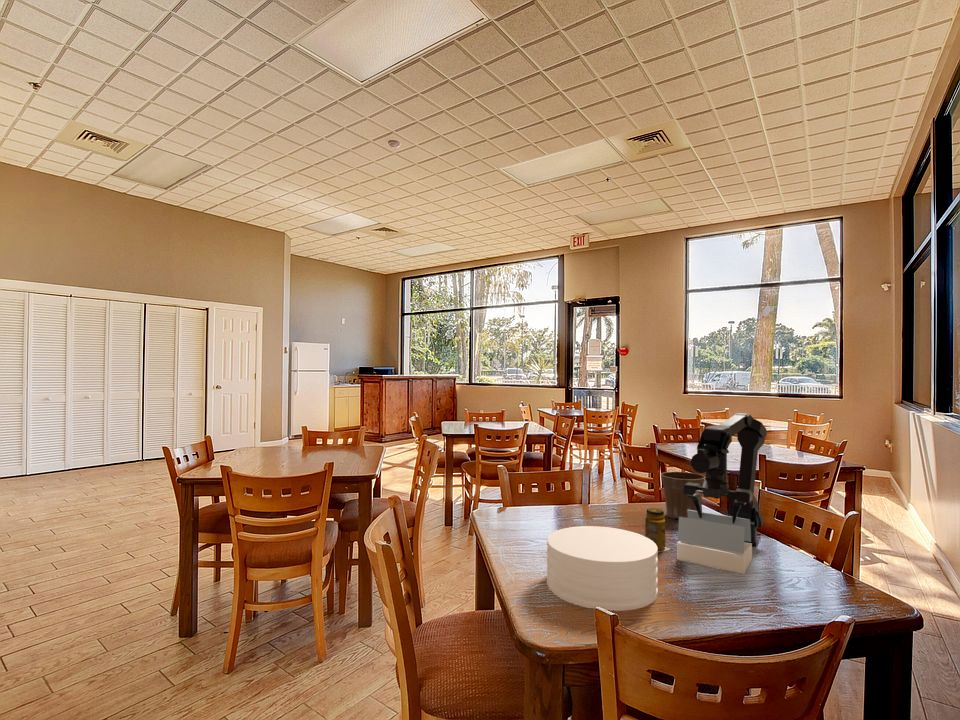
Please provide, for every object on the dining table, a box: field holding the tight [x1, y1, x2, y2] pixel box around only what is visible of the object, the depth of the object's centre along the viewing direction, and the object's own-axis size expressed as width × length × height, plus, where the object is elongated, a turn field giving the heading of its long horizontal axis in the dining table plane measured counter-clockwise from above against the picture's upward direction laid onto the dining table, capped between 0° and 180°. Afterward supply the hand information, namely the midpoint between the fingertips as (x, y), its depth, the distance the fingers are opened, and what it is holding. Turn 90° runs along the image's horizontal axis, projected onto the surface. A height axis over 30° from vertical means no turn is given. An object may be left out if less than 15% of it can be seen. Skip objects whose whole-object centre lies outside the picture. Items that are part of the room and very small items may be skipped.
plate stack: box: [546, 525, 659, 612], centre depth 133 cm, size 28×28×12 cm
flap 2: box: [677, 517, 745, 553], centre depth 147 cm, size 7×18×1 cm
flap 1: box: [687, 510, 751, 542], centre depth 156 cm, size 7×18×1 cm
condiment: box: [644, 507, 672, 553], centre depth 162 cm, size 7×8×12 cm
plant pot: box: [660, 471, 706, 520], centre depth 198 cm, size 16×16×16 cm
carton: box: [676, 541, 753, 575], centre depth 151 cm, size 13×18×5 cm
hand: (716, 520), depth 154 cm, fingers open, 9 cm apart
